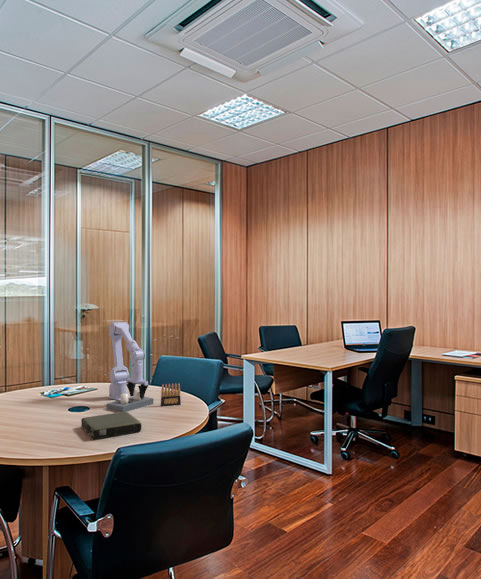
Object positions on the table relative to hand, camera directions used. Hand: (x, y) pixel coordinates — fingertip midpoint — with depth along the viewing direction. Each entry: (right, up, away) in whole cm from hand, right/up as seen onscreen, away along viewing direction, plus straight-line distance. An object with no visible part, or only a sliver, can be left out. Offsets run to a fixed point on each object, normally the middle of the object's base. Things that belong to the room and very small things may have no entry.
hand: (137, 397), depth 238 cm
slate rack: (-2, -4, -4) cm, 6 cm away
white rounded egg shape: (0, -4, 0) cm, 4 cm away
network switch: (-1, -4, -44) cm, 44 cm away
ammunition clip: (+19, -5, -1) cm, 19 cm away
